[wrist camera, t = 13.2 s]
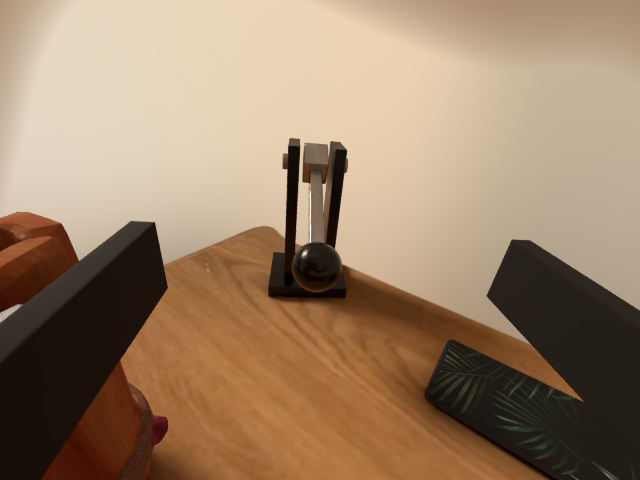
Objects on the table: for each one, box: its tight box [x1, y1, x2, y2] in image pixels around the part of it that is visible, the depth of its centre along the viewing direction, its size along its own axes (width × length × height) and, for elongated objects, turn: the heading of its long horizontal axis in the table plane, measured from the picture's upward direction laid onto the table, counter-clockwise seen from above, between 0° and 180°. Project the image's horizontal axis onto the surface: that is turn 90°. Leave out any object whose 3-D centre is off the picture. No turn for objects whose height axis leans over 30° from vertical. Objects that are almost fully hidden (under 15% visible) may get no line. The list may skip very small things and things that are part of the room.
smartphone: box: [424, 339, 640, 480], centre depth 19 cm, size 7×1×15 cm
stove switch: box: [268, 138, 348, 298], centre depth 29 cm, size 7×8×15 cm
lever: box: [292, 143, 342, 292], centre depth 23 cm, size 14×4×4 cm, turn 4°
